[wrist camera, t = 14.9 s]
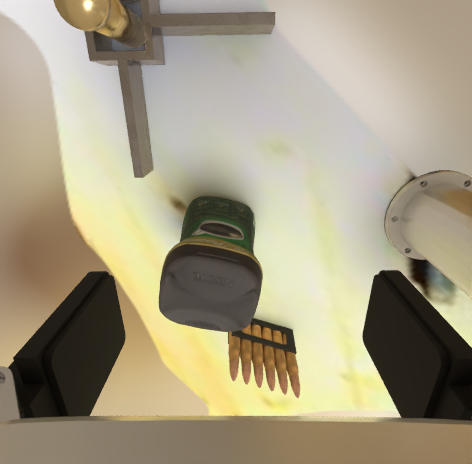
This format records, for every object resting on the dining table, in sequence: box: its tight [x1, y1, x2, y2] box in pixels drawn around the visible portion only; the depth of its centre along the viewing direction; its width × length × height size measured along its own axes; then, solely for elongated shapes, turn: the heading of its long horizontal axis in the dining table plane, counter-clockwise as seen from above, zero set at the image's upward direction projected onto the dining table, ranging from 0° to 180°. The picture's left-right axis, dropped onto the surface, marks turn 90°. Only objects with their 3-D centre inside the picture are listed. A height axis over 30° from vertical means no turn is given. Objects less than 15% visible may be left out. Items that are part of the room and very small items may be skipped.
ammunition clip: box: [228, 318, 300, 398], centre depth 44 cm, size 11×2×12 cm, turn 71°
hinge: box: [85, 0, 275, 178], centre depth 34 cm, size 19×19×4 cm
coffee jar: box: [159, 196, 263, 332], centre depth 34 cm, size 10×8×19 cm
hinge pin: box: [54, 0, 145, 48], centre depth 28 cm, size 4×4×12 cm
